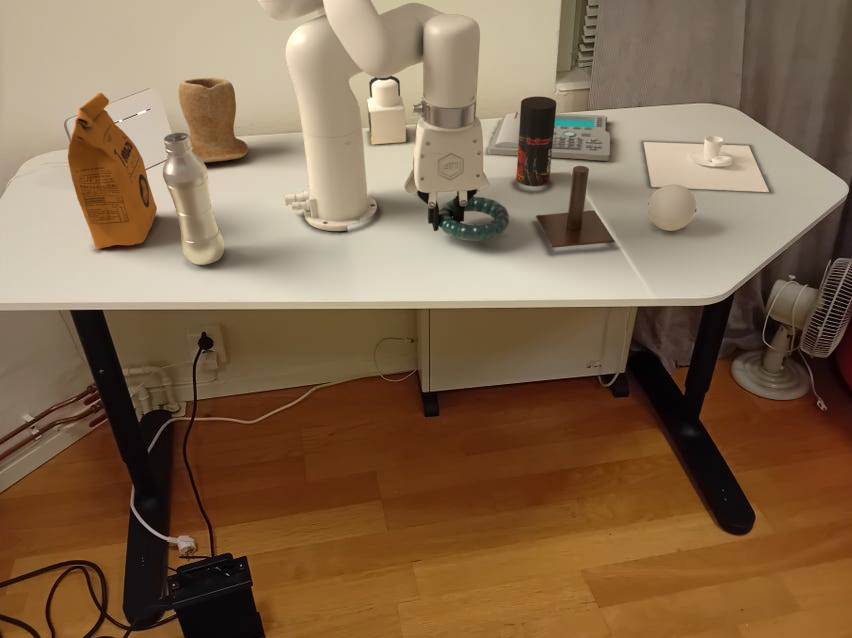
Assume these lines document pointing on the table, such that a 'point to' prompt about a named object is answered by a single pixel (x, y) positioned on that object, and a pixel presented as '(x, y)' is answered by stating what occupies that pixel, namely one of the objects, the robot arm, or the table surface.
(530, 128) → the deodorant
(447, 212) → the ring
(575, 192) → the post
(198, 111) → the tan upright hollow piece
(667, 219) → the beige ovoid
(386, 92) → the medicine bottle
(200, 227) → the plastic bottle
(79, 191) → the coffee package
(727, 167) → the teacup and saucer
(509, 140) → the office telephone
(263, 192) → the table surface
